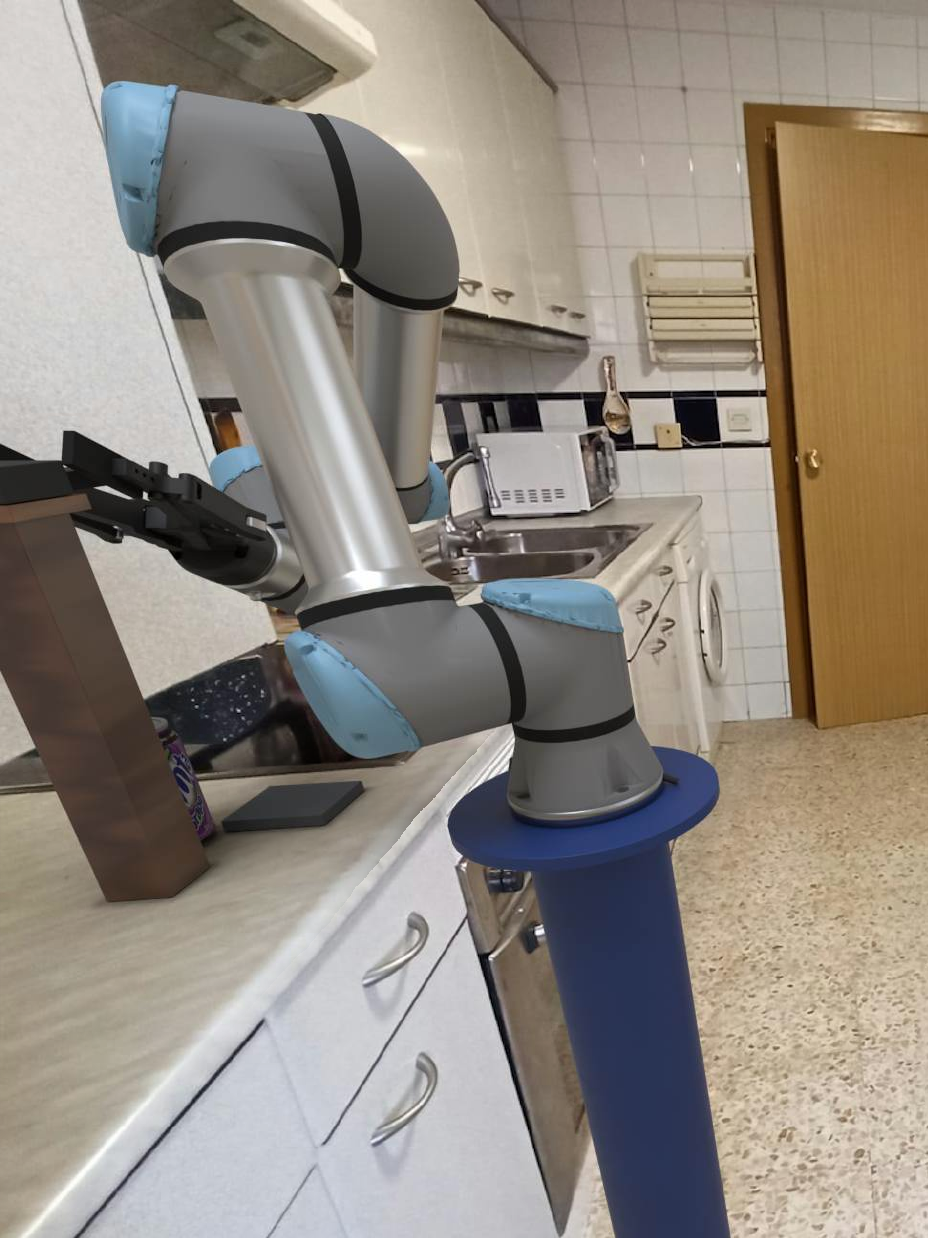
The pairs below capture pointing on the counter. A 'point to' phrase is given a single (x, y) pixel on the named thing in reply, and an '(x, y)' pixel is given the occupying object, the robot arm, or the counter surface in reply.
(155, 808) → the stand
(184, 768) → the beverage can
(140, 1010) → the counter surface
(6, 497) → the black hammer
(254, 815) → the base pad
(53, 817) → the counter surface
